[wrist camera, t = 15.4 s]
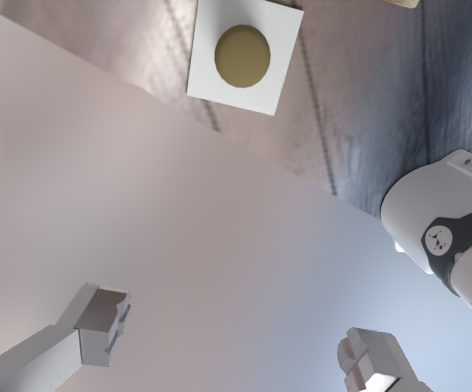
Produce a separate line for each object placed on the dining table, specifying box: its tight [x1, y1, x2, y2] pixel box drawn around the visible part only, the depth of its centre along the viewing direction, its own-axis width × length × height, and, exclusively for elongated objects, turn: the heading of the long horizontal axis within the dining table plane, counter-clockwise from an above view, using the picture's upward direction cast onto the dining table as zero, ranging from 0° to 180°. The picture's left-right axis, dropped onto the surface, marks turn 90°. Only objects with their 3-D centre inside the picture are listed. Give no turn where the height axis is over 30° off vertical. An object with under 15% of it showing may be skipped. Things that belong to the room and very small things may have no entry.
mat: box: [187, 0, 304, 116], centre depth 33 cm, size 12×12×1 cm
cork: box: [214, 24, 271, 88], centre depth 28 cm, size 6×6×11 cm
